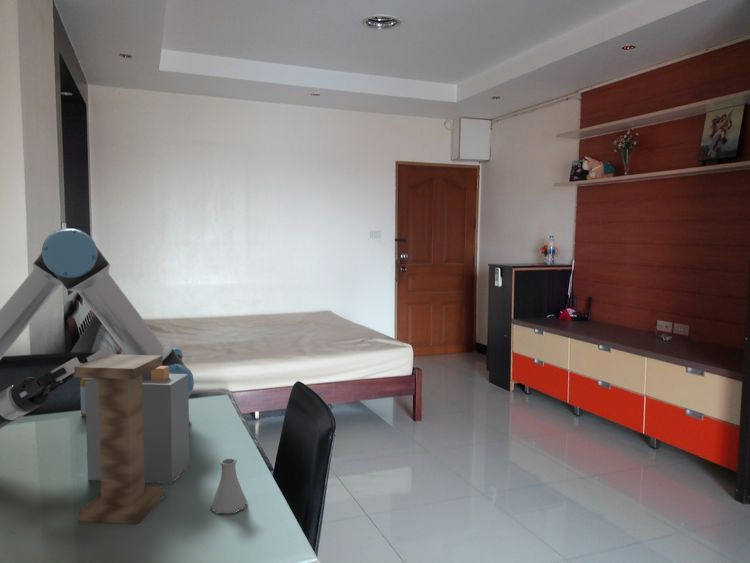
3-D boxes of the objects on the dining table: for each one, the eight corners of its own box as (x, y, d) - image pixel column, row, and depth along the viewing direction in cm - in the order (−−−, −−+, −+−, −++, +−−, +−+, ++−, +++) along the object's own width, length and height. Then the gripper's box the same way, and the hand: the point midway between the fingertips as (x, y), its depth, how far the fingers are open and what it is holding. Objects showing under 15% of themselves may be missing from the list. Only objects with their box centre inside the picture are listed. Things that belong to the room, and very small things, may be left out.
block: (87, 480, 129) (85, 382, 127) (111, 462, 138) (108, 371, 137) (172, 483, 127) (170, 384, 125) (189, 465, 137) (188, 374, 135)
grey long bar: (66, 377, 131) (66, 365, 131) (73, 374, 134) (73, 362, 133) (163, 380, 129) (163, 368, 129) (169, 377, 132) (168, 365, 132)
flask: (253, 502, 119) (253, 457, 118) (233, 518, 112) (233, 470, 111) (224, 497, 121) (224, 452, 120) (203, 512, 114) (203, 465, 114)
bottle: (95, 418, 171) (94, 370, 170) (76, 416, 173) (74, 369, 172) (110, 411, 178) (109, 365, 177) (91, 410, 180) (90, 364, 178)
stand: (78, 521, 110) (74, 367, 108) (111, 493, 122) (108, 354, 120) (137, 523, 109) (134, 368, 107) (164, 495, 121) (162, 355, 119)
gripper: (63, 396, 146) (130, 358, 144) (-9, 429, 121) (71, 383, 119) (48, 371, 146) (115, 333, 144) (-26, 399, 121) (53, 353, 119)
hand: (95, 356), depth 131 cm, fingers open, 13 cm apart
